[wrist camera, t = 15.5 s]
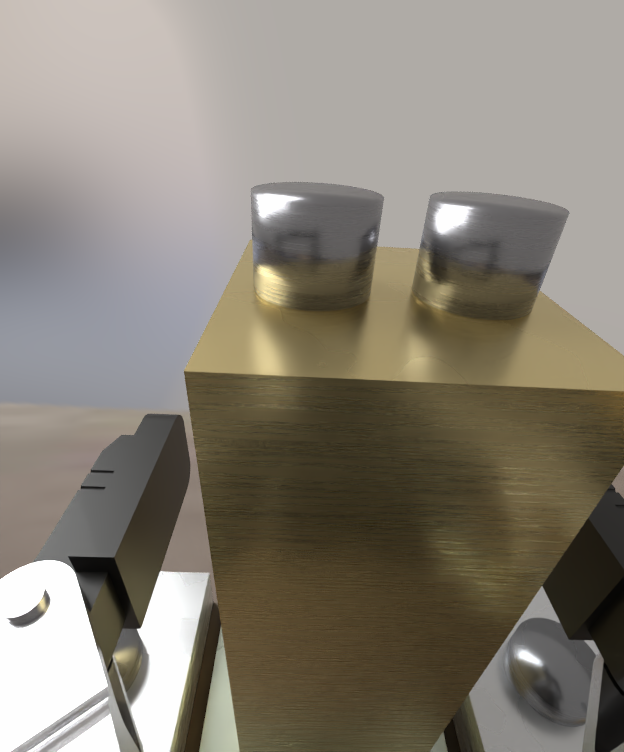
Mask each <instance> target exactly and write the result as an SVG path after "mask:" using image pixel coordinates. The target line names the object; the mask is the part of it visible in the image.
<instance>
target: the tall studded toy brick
mask: <svg viewBox="0 0 624 752" xmlns="http://www.w3.org/2000/svg"><path fill="white" fill-rule="evenodd" d="M383 201H384V197H383V196H382V195H381V194H379V193H377V192H374V191H371V190H367V189H362V188H357V187H351V186H344V185H336V184H324V183H308V182H283V183H269V184H262V185H258V186H255V187H253V188H251V209H252V240H250V241H249V243H248V245H247V247H246V249H245V251H244V253H243V255H242V257H241V259H240V261H239V263H238V265H237V267H236V269H235V271H234V273H233V275H232V277H231V279H230V281H229V283H228V285H227V287H226V289H225V291H224V293H223V295H222V297H221V299H220V301H219V303H218V305H217V307H216V309H215V311H214V313H213V315H212V317H211V319H210V321H209V322H208V325H207V326H206V328H205V331H204V332H203V334H202V336H201V338H200V340H199V342H198V344H197V347H196V348H195V350H194V352H193V354H192V356H191V358H190V360H189V362H188V364H187V366H186V368H185V370H184V374H185V382H186V388H187V395H188V401H189V408H190V416H191V423H192V430H193V436H194V443H195V450H196V457H197V464H198V471H199V477H200V484H201V491H202V498H203V505H204V512H205V518H206V525H207V532H208V539H209V546H210V553H211V559H212V566H213V573H214V580H215V587H216V594H217V600H218V607H219V614H220V621H221V628H222V635H223V641H224V648H225V655H226V662H227V669H228V676H229V682H230V689H231V696H232V703H233V710H234V717H235V724H236V730H237V737H238V744H239V751H240V752H430V750H431V749H432V747H433V746H434V744H435V743H436V741H437V740H438V739H439V737H440V736H441V734H442V733H443V731H444V730H445V728H446V727H447V725H448V724H449V722H450V721H451V719H452V718H453V716H454V715H455V713H456V712H457V711H458V709H459V708H460V706H461V705H462V703H463V702H464V700H465V699H466V697H467V696H468V694H469V693H470V691H471V690H472V688H473V687H474V685H475V684H476V682H477V681H478V680H479V678H480V677H481V675H482V674H483V672H484V671H485V669H486V668H487V666H488V665H489V663H490V662H491V660H492V659H493V657H494V656H495V654H496V653H497V652H498V650H499V649H500V647H501V646H502V644H503V643H504V641H505V640H506V638H507V637H508V635H509V634H510V632H511V631H512V629H513V628H514V626H515V625H516V623H517V622H518V621H519V619H520V618H521V616H522V615H523V613H524V612H525V610H526V609H527V607H528V606H529V604H530V603H531V601H532V600H533V598H534V597H535V595H536V594H537V592H538V591H539V590H540V588H541V587H542V585H543V584H544V582H545V581H546V579H547V578H548V576H549V575H550V573H551V572H552V570H553V569H554V567H555V566H556V564H557V563H558V562H559V560H560V559H561V557H562V556H563V554H564V553H565V551H566V550H567V548H568V547H569V545H570V544H571V542H572V541H573V539H574V538H575V536H576V535H577V533H578V532H579V531H580V529H581V528H582V526H583V525H584V523H585V522H586V520H587V519H588V517H589V516H590V514H591V513H592V511H593V510H594V508H595V507H596V505H597V504H598V503H599V501H600V500H601V498H602V497H603V495H604V494H605V492H606V491H607V489H608V488H609V486H610V485H611V483H612V482H613V480H614V479H615V477H616V476H617V474H618V473H619V472H620V470H621V469H622V467H623V466H624V356H623V355H622V354H621V353H619V352H618V351H617V350H616V349H614V348H613V347H612V346H610V345H609V344H608V343H607V342H605V341H604V340H603V339H601V338H600V337H599V336H598V335H596V334H595V333H594V332H592V331H591V330H590V329H589V328H587V327H586V326H585V325H583V324H582V323H581V322H579V321H578V320H577V319H576V318H574V317H573V316H572V315H570V314H569V313H568V312H567V311H565V310H564V309H563V308H561V307H560V306H559V305H558V304H556V303H555V302H554V301H552V300H551V299H549V297H547V296H546V295H545V294H543V293H542V292H541V291H540V288H541V285H542V283H543V280H544V278H545V275H546V272H547V269H548V267H549V264H550V262H551V259H552V257H553V254H554V251H555V249H556V246H557V244H558V241H559V239H560V236H561V233H562V231H563V228H564V225H565V223H566V220H567V218H568V215H569V211H568V210H567V209H565V208H563V207H560V206H557V205H554V204H551V203H547V202H542V201H538V200H532V199H527V198H521V197H515V196H508V195H500V194H491V193H478V192H440V193H435V194H432V195H431V196H430V199H429V204H428V209H427V214H426V220H425V224H424V229H423V235H422V239H421V244H420V249H410V248H393V247H377V243H378V236H379V228H380V221H381V215H382V207H383Z"/></svg>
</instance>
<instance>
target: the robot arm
mask: <svg viewBox="0 0 624 752" xmlns="http://www.w3.org/2000/svg"><path fill="white" fill-rule="evenodd" d="M189 477H190V458H189V452H188V446H187V439H186V433H185V427H184V421H183V418H182V416H181V415H169V414H147V415H146V416H145V417H144V418H143V420H142V422H141V424H140V425H139V427H138V429H137V431H136V433H135V435H121V436H120V437H119V438H117V439H116V440H115V441H114V442H113V443H111V444H110V445H109V446H108V447H107V448H105V449H104V450H103V451H102V452H101V454H100V456H99V457H98V459H97V461H96V462H95V464H94V465H93V467H92V469H91V473H90V474H88V475H87V477H86V478H85V480H84V482H83V483H82V485H81V489H80V490H78V491H77V493H76V495H75V496H74V498H73V499H72V501H71V503H70V504H69V506H68V508H67V509H66V511H65V512H64V514H63V516H62V517H61V519H60V521H59V522H58V524H57V525H56V527H55V529H54V530H53V532H52V533H51V535H50V537H49V538H48V540H47V542H46V543H45V545H44V546H43V548H42V550H41V551H40V553H39V554H38V556H37V557H36V559H35V560H34V561H33V562H32V564H28V565H26V566H23V567H21V568H19V569H17V570H15V571H13V572H11V573H10V574H8V575H7V576H5V577H4V578H2V579H1V580H0V752H144V749H143V746H142V742H141V739H140V736H139V733H138V730H137V727H136V723H135V720H134V717H133V714H132V711H131V707H130V704H129V701H128V698H127V695H126V691H125V688H124V685H123V682H122V679H121V676H120V672H119V669H118V666H117V663H116V660H115V656H114V654H113V653H114V650H115V647H116V645H117V642H118V639H119V637H120V634H121V631H122V629H141V628H142V625H143V622H144V618H145V615H146V612H147V609H148V606H149V603H150V600H151V597H152V594H153V591H154V588H155V585H156V582H157V579H158V576H159V573H160V570H161V567H162V564H163V561H164V558H165V554H166V551H167V548H168V545H169V542H170V539H171V536H172V533H173V530H174V527H175V524H176V521H177V518H178V515H179V512H180V509H181V506H182V503H183V500H184V497H185V493H186V490H187V487H188V483H189ZM542 586H543V589H544V591H545V593H546V595H547V597H548V599H549V601H550V603H551V605H552V607H553V609H554V611H555V613H556V615H557V617H558V619H559V621H560V623H561V625H562V627H563V629H564V631H565V633H566V635H567V637H568V639H569V640H593V641H594V642H595V644H596V646H597V648H598V650H599V653H598V654H597V655H596V657H595V659H594V662H593V669H592V677H591V684H590V692H589V700H588V708H587V716H586V723H585V731H584V739H583V747H582V752H624V499H623V498H622V496H621V495H620V494H619V493H616V492H615V488H614V486H613V485H612V484H611V485H610V486H609V488H608V489H607V491H606V492H605V494H604V495H603V497H602V498H601V500H600V501H599V503H598V504H597V505H596V507H595V508H594V510H593V511H592V513H591V514H590V516H589V517H588V519H587V520H586V522H585V523H584V525H583V526H582V528H581V529H580V531H579V532H578V533H577V535H576V536H575V538H574V539H573V541H572V542H571V544H570V545H569V547H568V548H567V550H566V551H565V553H564V554H563V556H562V557H561V559H560V560H559V562H558V563H557V564H556V566H555V567H554V569H553V570H552V572H551V573H550V575H549V576H548V578H547V579H546V581H545V582H544V584H543V585H542Z"/></svg>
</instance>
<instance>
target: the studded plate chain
mask: <svg viewBox="0 0 624 752" xmlns="http://www.w3.org/2000/svg"><path fill="white" fill-rule="evenodd" d="M213 602H214V601H213V594H212V588H211V581H210V575H209V573H190V572H160V573H159V576H158V579H157V582H156V585H155V588H154V591H153V594H152V597H151V600H150V603H149V606H148V609H147V612H146V615H145V618H144V622H143V625H142V628H141V629H122V631H121V634H120V637H119V639H118V642H117V645H116V647H115V650H114V653H113V654H114V656H115V660H116V663H117V666H118V669H119V672H120V676H121V679H122V682H123V685H124V688H125V691H126V695H127V698H128V701H129V704H130V707H131V711H132V714H133V717H134V720H135V723H136V727H137V730H138V733H139V736H140V739H141V742H142V746H143V749H144V752H184V749H185V744H186V739H187V734H188V729H189V724H190V719H191V714H192V709H193V703H194V698H195V693H196V688H197V683H198V678H199V673H200V668H201V663H202V658H203V653H204V648H205V643H206V638H207V633H208V627H209V622H210V617H211V612H212V607H213ZM598 653H599V650H598V648H597V646H596V644H595V642H594V641H593V640H569V639H568V637H567V635H566V633H565V631H564V629H563V627H562V625H561V623H560V621H559V619H558V617H557V615H556V613H555V611H554V609H553V607H552V605H551V603H550V601H549V599H548V597H547V595H546V593H545V591H544V589H543V586H542V587H541V588H540V590H539V591H538V592H537V594H536V595H535V597H534V598H533V600H532V601H531V603H530V604H529V606H528V607H527V609H526V610H525V612H524V613H523V615H522V616H521V618H520V619H519V621H518V622H517V623H516V625H515V626H514V628H513V629H512V631H511V632H510V634H509V635H508V637H507V638H506V640H505V641H504V643H503V644H502V646H501V647H500V649H499V650H498V652H497V653H496V654H495V656H494V657H493V659H492V660H491V662H490V663H489V665H488V666H487V668H486V669H485V671H484V672H483V674H482V675H481V677H480V678H479V680H478V681H477V682H476V684H475V685H474V687H473V688H472V690H471V691H470V693H469V694H468V696H467V697H466V699H465V700H464V702H463V703H462V705H461V706H460V708H459V709H458V711H457V712H456V713H455V715H454V716H453V722H454V726H455V730H456V735H457V739H458V743H459V747H460V752H582V747H583V739H584V731H585V723H586V716H587V708H588V700H589V692H590V684H591V677H592V669H593V662H594V659H595V657H596V655H597V654H598ZM199 752H240V751H239V744H238V737H237V730H236V724H235V717H234V710H233V703H232V696H231V689H230V682H229V676H228V669H227V662H226V655H225V648H224V641H223V635H222V628H221V629H220V634H219V640H218V646H217V652H216V657H215V663H214V669H213V675H212V680H211V686H210V692H209V698H208V703H207V709H206V715H205V721H204V726H203V732H202V738H201V744H200V749H199ZM430 752H448V751H447V746H446V742H445V737H444V732H443V733H442V734H441V736H440V737H439V739H438V740H437V741H436V743H435V744H434V746H433V747H432V749H431V750H430Z"/></svg>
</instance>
